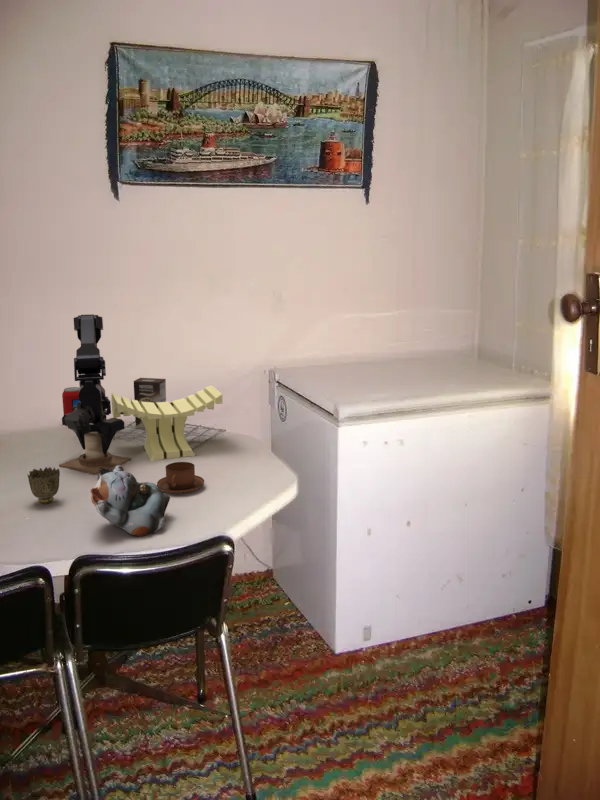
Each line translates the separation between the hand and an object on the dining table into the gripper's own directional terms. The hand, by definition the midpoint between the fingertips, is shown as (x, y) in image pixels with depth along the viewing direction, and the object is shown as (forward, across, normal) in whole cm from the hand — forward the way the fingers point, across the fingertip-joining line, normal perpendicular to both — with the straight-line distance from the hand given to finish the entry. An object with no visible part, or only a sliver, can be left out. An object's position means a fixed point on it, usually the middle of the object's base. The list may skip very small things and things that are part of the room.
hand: (94, 451), depth 212 cm
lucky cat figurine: (+4, +39, -29) cm, 49 cm away
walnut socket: (+4, 0, 0) cm, 4 cm away
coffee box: (+4, -11, +37) cm, 39 cm away
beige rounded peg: (+3, 0, 0) cm, 3 cm away
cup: (+4, +11, -28) cm, 30 cm away
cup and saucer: (+4, +34, -4) cm, 34 cm away
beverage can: (+4, -37, +28) cm, 46 cm away
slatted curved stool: (+4, +10, +20) cm, 23 cm away
